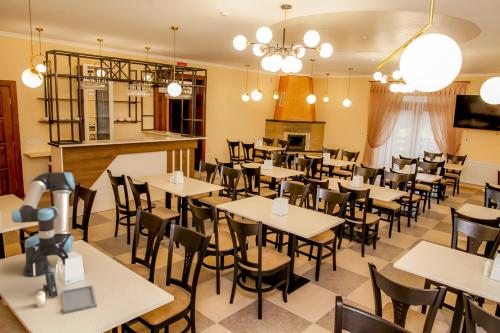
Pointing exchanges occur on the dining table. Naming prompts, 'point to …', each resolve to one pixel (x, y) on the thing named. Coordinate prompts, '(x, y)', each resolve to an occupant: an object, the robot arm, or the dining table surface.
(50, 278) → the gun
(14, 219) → the robot arm
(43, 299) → the shaker
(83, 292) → the tray
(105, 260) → the dining table surface
